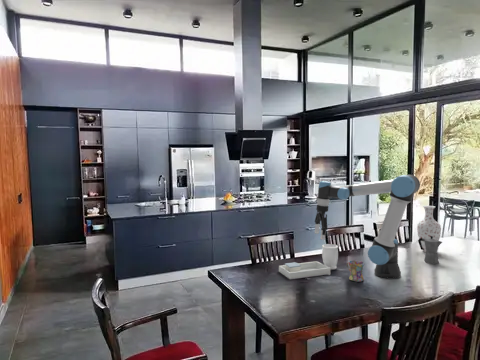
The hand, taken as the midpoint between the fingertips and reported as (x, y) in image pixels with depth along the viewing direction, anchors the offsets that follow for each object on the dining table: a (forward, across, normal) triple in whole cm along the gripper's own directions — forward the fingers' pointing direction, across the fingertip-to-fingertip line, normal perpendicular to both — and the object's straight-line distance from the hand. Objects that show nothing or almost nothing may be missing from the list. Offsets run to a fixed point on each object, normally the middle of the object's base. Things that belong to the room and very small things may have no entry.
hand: (319, 236), depth 228 cm
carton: (+22, +12, -19) cm, 31 cm away
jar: (+21, 0, +9) cm, 23 cm away
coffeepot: (+16, -6, +82) cm, 83 cm away
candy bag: (+19, +24, +16) cm, 35 cm away
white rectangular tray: (+22, +10, -11) cm, 27 cm away
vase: (+16, -31, +97) cm, 103 cm away
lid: (+16, +12, -19) cm, 28 cm away
